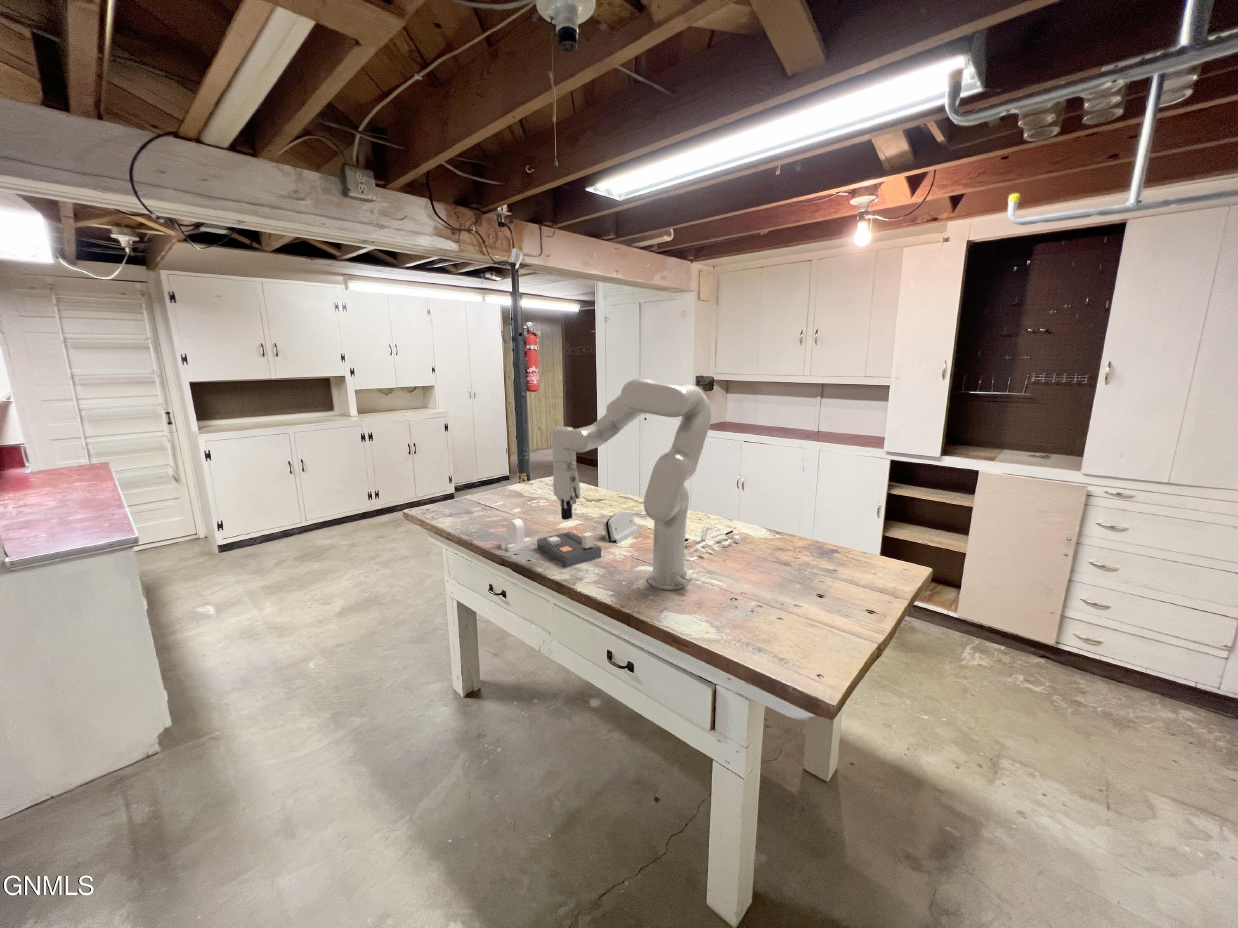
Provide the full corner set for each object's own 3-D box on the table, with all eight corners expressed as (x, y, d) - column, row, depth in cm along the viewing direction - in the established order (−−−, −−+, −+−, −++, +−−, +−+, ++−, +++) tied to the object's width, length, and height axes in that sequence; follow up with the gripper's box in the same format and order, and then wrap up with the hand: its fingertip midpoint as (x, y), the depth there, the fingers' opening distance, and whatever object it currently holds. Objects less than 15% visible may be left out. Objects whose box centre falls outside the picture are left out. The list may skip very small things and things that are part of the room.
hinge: (617, 543, 176) (609, 518, 175) (607, 545, 178) (600, 520, 178) (640, 530, 189) (633, 506, 189) (630, 532, 192) (623, 508, 192)
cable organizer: (531, 543, 175) (530, 517, 173) (510, 551, 168) (508, 525, 166) (521, 540, 179) (520, 515, 176) (500, 548, 171) (499, 521, 169)
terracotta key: (573, 556, 161) (572, 549, 161) (564, 558, 159) (564, 551, 159) (567, 552, 164) (567, 546, 164) (558, 555, 162) (558, 548, 161)
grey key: (560, 545, 167) (560, 539, 167) (552, 548, 165) (552, 541, 165) (555, 542, 170) (555, 536, 169) (547, 545, 168) (547, 538, 167)
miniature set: (720, 530, 189) (746, 544, 180) (658, 558, 167) (683, 574, 158) (722, 516, 186) (748, 529, 178) (659, 542, 165) (685, 558, 156)
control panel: (601, 557, 164) (601, 547, 163) (566, 567, 155) (566, 557, 154) (570, 540, 179) (570, 531, 178) (537, 548, 171) (537, 539, 170)
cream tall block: (593, 546, 163) (593, 534, 162) (585, 548, 161) (585, 536, 160) (589, 544, 165) (589, 532, 164) (582, 546, 163) (581, 534, 162)
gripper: (587, 466, 151) (588, 521, 155) (562, 460, 163) (565, 511, 167) (566, 470, 147) (569, 526, 151) (543, 463, 159) (546, 515, 162)
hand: (566, 518), depth 159 cm, fingers closed
